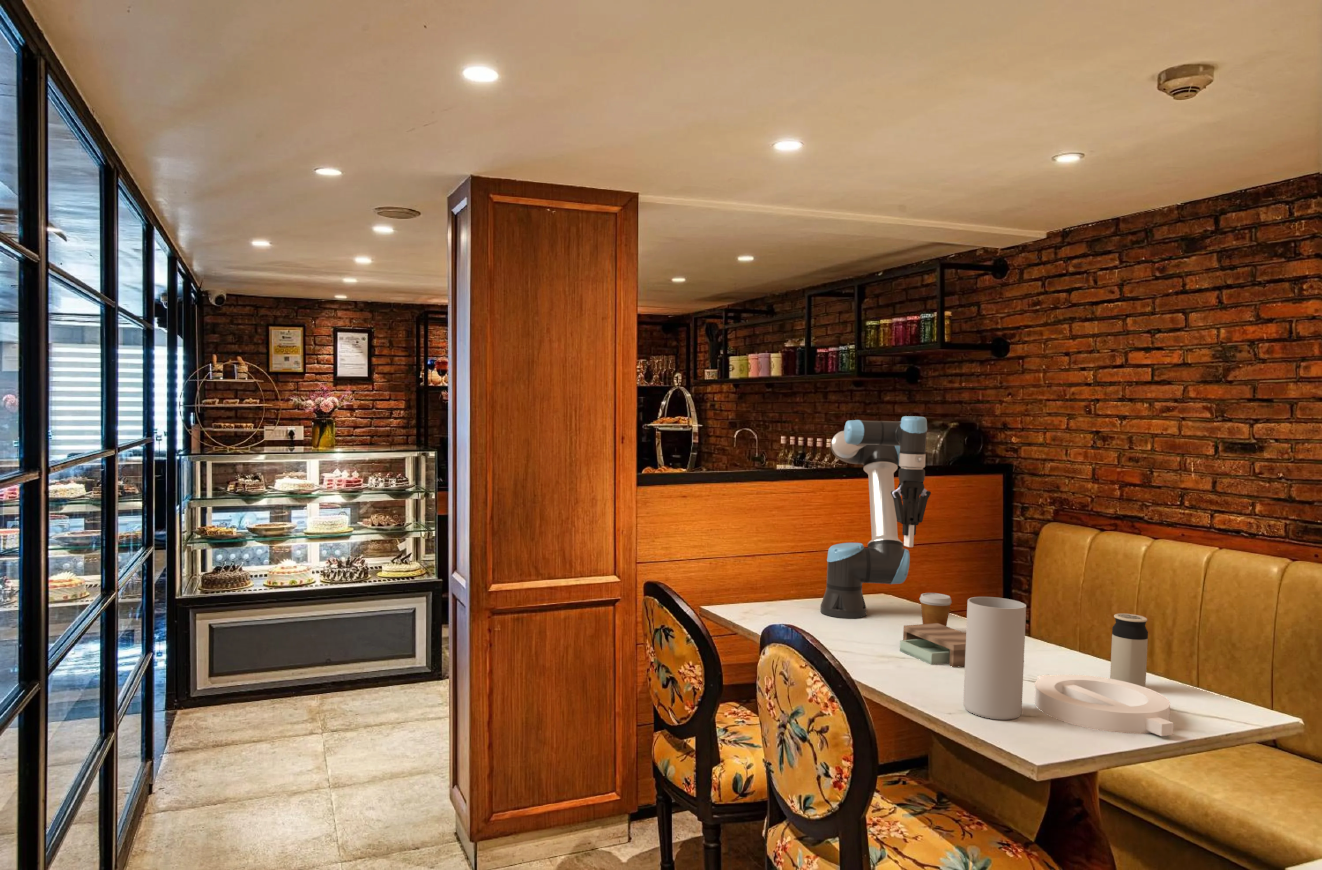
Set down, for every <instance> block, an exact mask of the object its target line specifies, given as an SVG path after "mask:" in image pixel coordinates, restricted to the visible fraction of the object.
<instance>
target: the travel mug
mask: <svg viewBox="0 0 1322 870" xmlns="http://www.w3.org/2000/svg"><path fill="white" fill-rule="evenodd" d="M1113 617H1114V619H1115V623H1114V624H1113V625H1112V628H1111V629H1112V632H1111V649H1110V650H1111V651H1110V653H1111V654H1110V669H1109V670H1110V672H1109V673H1110V674H1109V676H1110V678H1109V679H1115V680H1120V681H1124V682H1128V683H1132V684H1136V685H1139V686H1142V687H1145V688H1146V686H1147V685H1146V684H1147V683H1146V682H1147V662H1148V661H1147V660H1148V641H1149V631H1148V629H1147V627H1146V625H1147V622H1148V618H1147V617H1145V616H1143V615H1138V614H1132V613H1131V614H1130V613H1115V614H1114V615H1113Z"/></svg>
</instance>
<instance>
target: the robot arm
mask: <svg viewBox="0 0 1322 870" xmlns="http://www.w3.org/2000/svg"><path fill="white" fill-rule="evenodd" d="M927 431H928V421H927V418H926V417H924V416H916V415H915V416H913V415H910V416H909V415H908V416H907V415H905V416H902V417H901V419H900V421H892V420H861V419H855V420H854V419H852V420H849V419H848V420H847V421H846V422H845V425H844V429H843V430H841V431H838V432H837V433H836V434H834V435H833V437H832V438H831V441H830V450H831V452H832V454H833V455H834V456H835V457H836V458H837V459H838V460H840V461H842V462H843V463H847V464H854V465H863V467H862V468H863V471H864V472H865V473H866V474H867V475H868V477H867V478H868V493H869V510H870V511H869V512H870V526H871V527H870V528H871V529H870V530H871V540H869V541H868V542H867V547H865V546H864V544H863V543H861V542H842V543H836V544H833V545H831V546H830V547H829V548H828V551H827V558H826V561H827V565H826V566H827V567H826V588H825V592H824V595H823V597H822V601H821V603H820V613H821V614H823V615H824V616H829V617H832V618H840V619H841V618H842V619H859V618H864V617H866V616H867V609H868V608H867V605H866V603H865V602H866V601H865V599H864V598H865V597H864V595H863V594H864V593H863V584H881V585H882V584H885V585H899V584H904V582H905V581H906V579H907V578H908V575H909V569H910V564H911V563H910V561H911V560H910V559H911V556H910V551H909V549H907V548H913V547H914V543H915V542H914V541H915V539H914V538H915V536H916V534H917V526H919V524H920V523H922V522H923V520H924V517H925V516H924V515H925V512H926V508H927V504H928V500H929V498H930V496H931V495H932V492H931V491H930V490H927V489H926V488H925V484H924V481H925V480H926V479H925V478H926V470H925V469H924V468H925V467H926V457H927V456H926V452H927V451H926V450H927V435H928V434H927ZM898 466H899V467H900V468H899V467H898ZM898 468H899V469H898ZM896 471H898V485H897V489H895V477H894V474H895V472H896ZM898 523H900V524H902V530H901V531H902V535H903V541H901V539H900V538H899V537H898V536H899V535H898ZM904 547H907V548H904Z"/></svg>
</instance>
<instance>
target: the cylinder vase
mask: <svg viewBox="0 0 1322 870" xmlns="http://www.w3.org/2000/svg"><path fill="white" fill-rule="evenodd" d="M966 602H967V604H966V605H967V607H966V627H965V628H966V630H965V633H966V651H965V666H964V677H963V680H964V681H963V700H962V701H963V702H962V703H963V707H964V710H966V711H969V712H968V713H970V714H972V713H973V714H972V715H974V714H975V716H977V715H978V716H977V717H980V716H981V718H984V717H985V718H986V719H989V718H990V720H998V721H999V720H1000V721H1006V720H1007V721H1008V720H1014V719H1018V718H1019V717H1020V716H1021V714H1022V711H1023V709H1022V708H1023V692H1024V691H1023V689H1024V688H1023V687H1024V685H1023V684H1024V669H1025V668H1024V667H1025V665H1024V664H1025V663H1024V662H1025V643H1026V642H1025V641H1026V618H1027V616H1026V615H1027V604H1026V603H1024V602H1021V601H1019V600H1015V599H1011V598H1010V599H1009V598H1002V597H994V596H974V597H970V598H967V601H966ZM985 718H984V719H985Z"/></svg>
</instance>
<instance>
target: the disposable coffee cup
mask: <svg viewBox="0 0 1322 870" xmlns="http://www.w3.org/2000/svg"><path fill="white" fill-rule="evenodd" d="M918 600H919V601H920V606H921V618H922V619H921V620H922V624H934V623H939V624H941V625H944V626H947V627H948V619H949V614H950V607H951V604H952V603H953V601H952V598H951V596H950V595H947V594H944V593H938V592H925V593H921V594H920V597H919V599H918Z"/></svg>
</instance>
